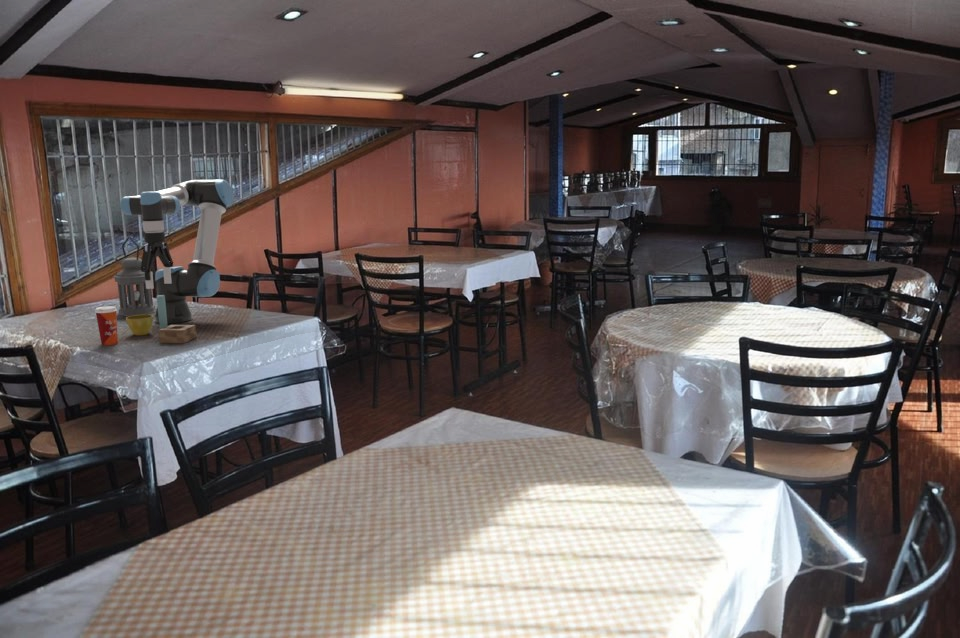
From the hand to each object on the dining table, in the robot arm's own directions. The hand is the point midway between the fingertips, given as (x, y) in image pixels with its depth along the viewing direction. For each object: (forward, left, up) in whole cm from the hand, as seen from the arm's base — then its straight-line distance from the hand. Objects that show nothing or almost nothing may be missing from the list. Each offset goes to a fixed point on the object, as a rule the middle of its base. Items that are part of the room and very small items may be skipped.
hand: (159, 286), depth 311 cm
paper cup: (+15, -14, -20) cm, 29 cm away
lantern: (-47, -39, -20) cm, 64 cm away
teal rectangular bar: (0, 0, -20) cm, 20 cm away
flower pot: (-2, -11, -20) cm, 23 cm away
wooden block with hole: (+8, +10, -20) cm, 24 cm away
